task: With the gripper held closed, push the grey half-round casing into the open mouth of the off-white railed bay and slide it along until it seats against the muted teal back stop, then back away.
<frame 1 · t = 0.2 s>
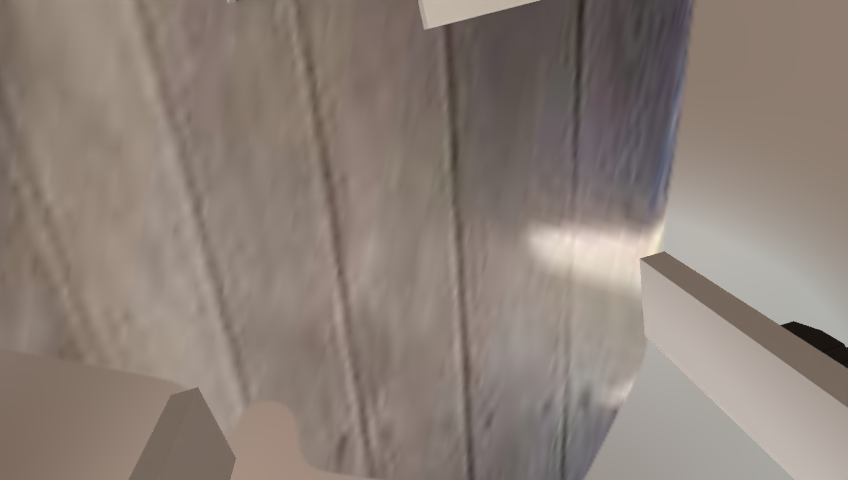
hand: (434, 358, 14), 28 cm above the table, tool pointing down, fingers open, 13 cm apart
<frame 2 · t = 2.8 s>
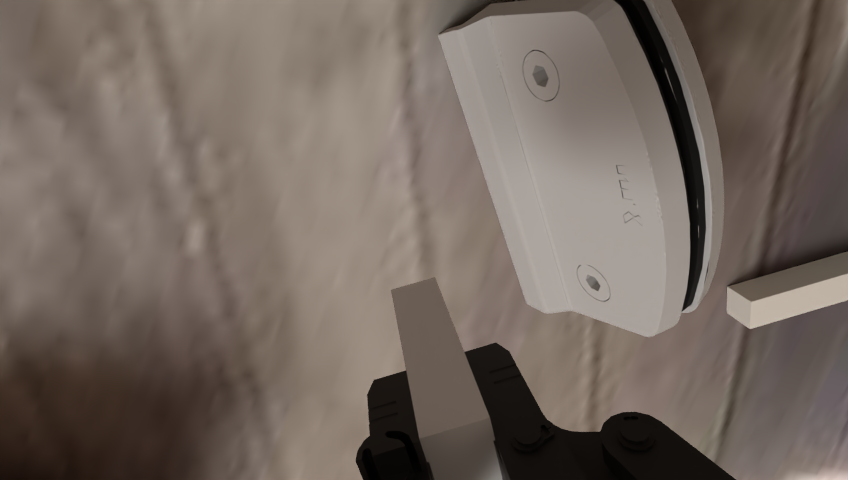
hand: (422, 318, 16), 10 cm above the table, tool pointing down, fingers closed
grey half-round casing: (551, 157, 26), on the table
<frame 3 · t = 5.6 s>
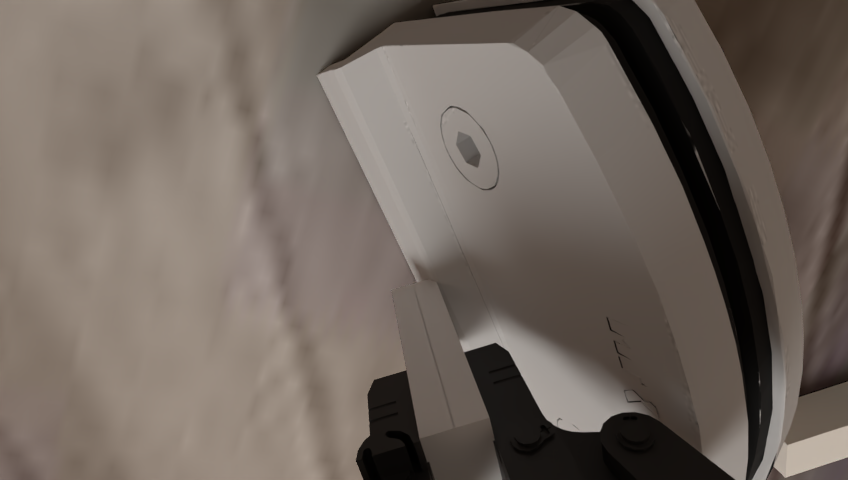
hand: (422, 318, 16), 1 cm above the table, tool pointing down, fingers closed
grey half-round casing: (515, 241, 18), on the table, touching gripper
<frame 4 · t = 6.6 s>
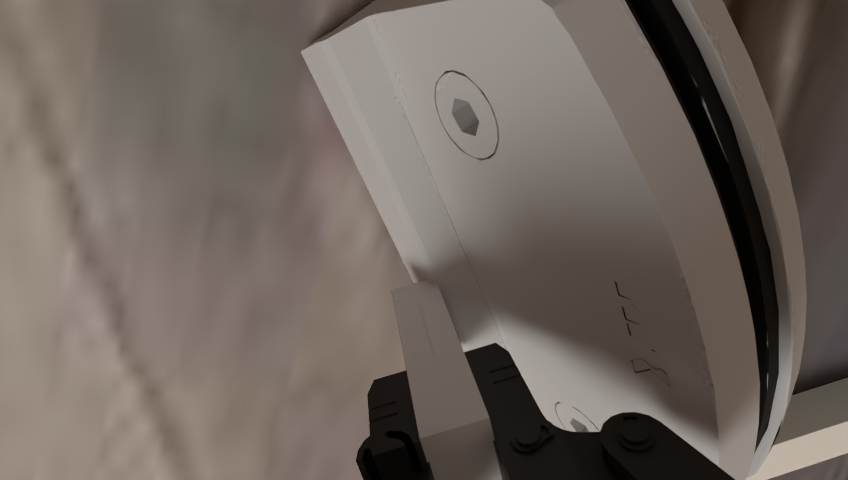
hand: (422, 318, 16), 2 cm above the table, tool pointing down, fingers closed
guide bay: (788, 179, 18), on the table
grey half-round casing: (505, 225, 17), on the table, touching gripper
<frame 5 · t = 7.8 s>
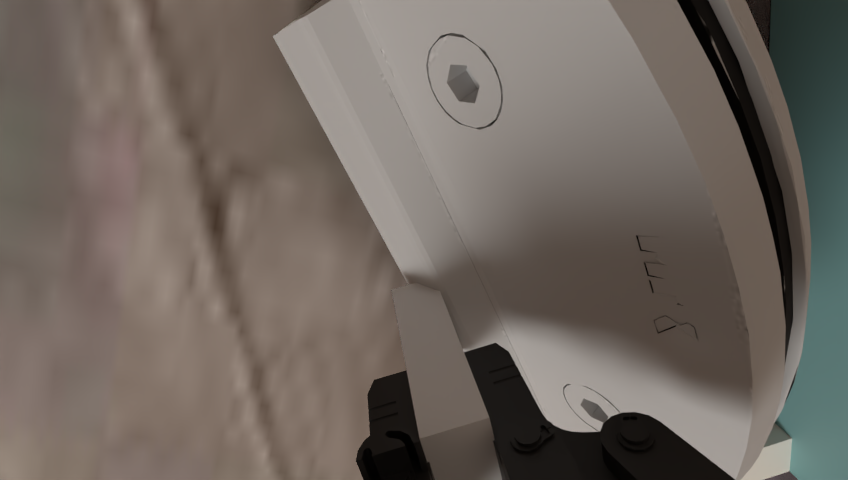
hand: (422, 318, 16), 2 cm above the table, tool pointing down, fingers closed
guide bay: (613, 231, 18), on the table
grey half-round casing: (492, 212, 17), on the table
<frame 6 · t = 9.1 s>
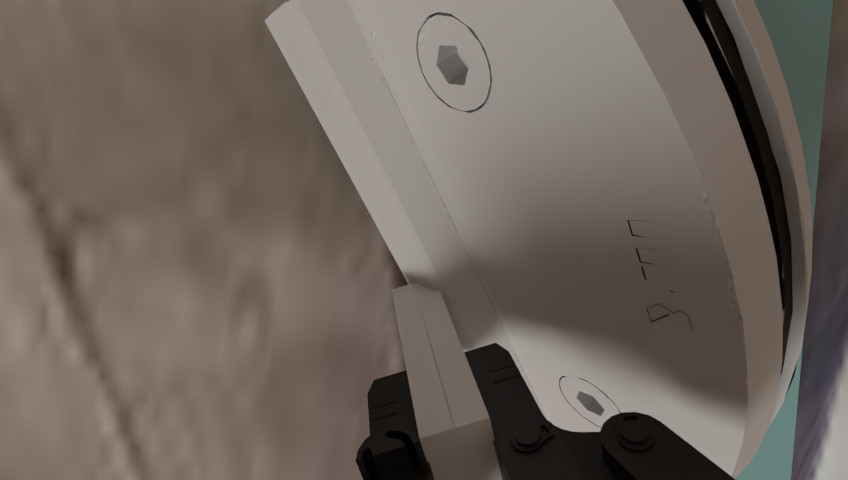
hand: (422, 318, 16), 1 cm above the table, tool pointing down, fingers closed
guide bay: (486, 274, 18), on the table
grey half-round casing: (489, 201, 17), on the table
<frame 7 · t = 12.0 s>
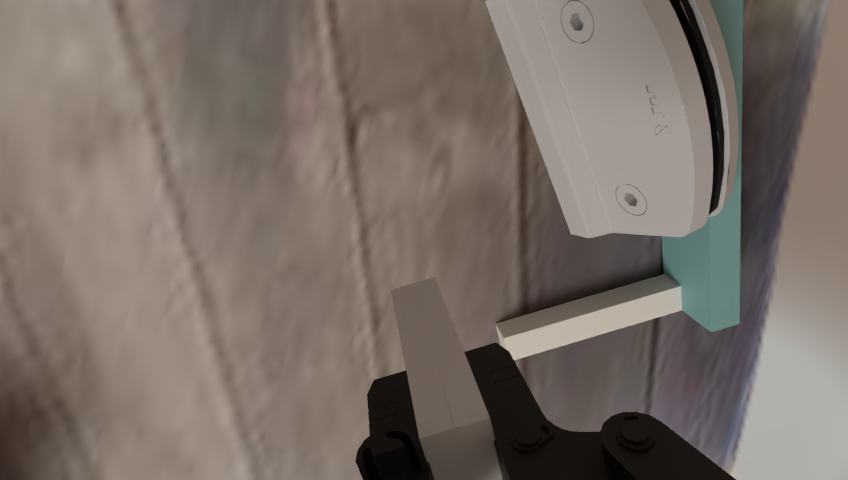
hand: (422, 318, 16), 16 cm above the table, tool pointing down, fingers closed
guide bay: (568, 151, 31), on the table
grey half-round casing: (585, 100, 31), on the table
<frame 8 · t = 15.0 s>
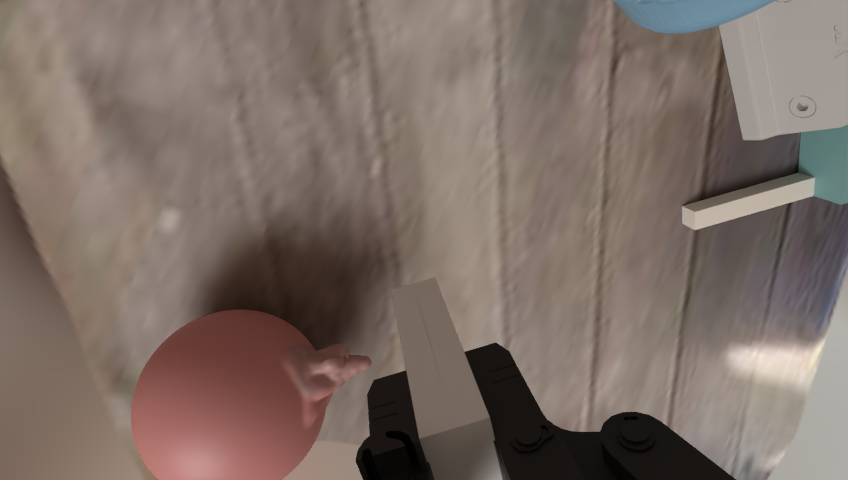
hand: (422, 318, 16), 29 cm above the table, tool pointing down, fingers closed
guide bay: (747, 80, 46), on the table
balloon: (273, 340, 49), on the table
grey half-round casing: (761, 44, 46), on the table
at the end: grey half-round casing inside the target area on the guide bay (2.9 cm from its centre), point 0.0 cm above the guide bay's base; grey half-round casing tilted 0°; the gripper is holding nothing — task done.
